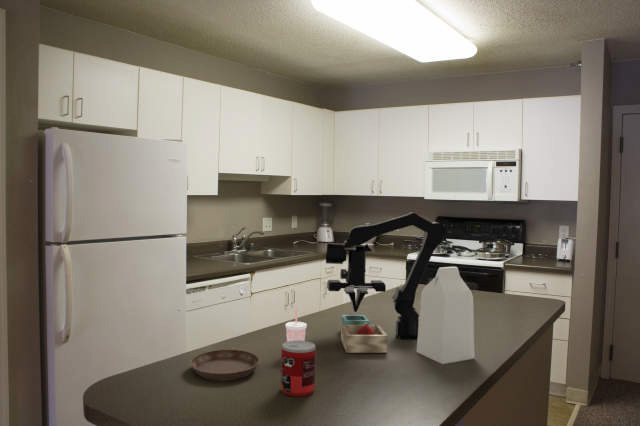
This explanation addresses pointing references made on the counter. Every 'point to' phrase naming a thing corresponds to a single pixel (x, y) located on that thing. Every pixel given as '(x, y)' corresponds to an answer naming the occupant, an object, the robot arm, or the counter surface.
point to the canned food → (298, 368)
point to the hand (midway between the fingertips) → (355, 311)
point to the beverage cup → (296, 330)
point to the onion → (365, 330)
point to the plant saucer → (225, 364)
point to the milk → (446, 318)
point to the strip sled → (361, 336)
